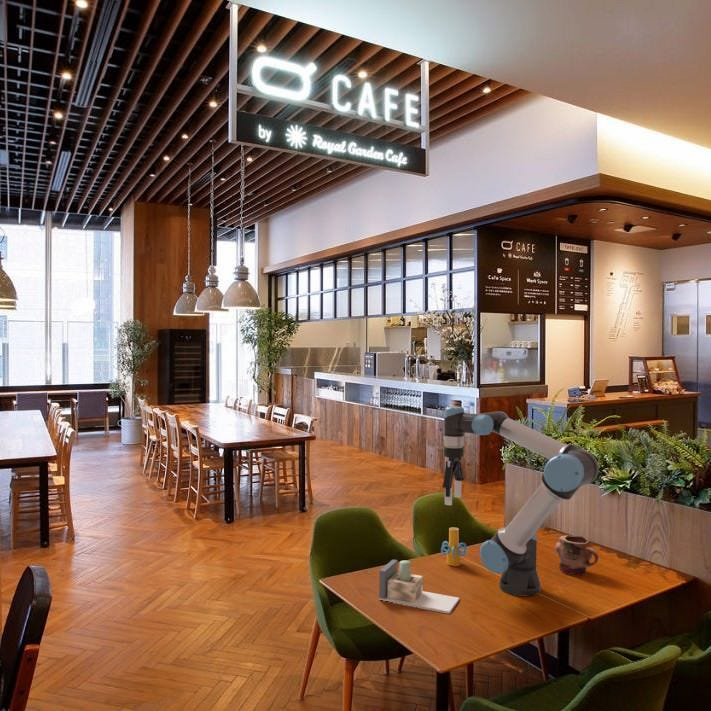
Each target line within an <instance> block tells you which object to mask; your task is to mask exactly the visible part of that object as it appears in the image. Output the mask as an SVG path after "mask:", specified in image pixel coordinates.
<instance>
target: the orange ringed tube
mask: <svg viewBox="0 0 711 711" xmlns="http://www.w3.org/2000/svg"><path fill="white" fill-rule="evenodd" d="M459 530H460V528H458V527H449V528H448V541H447V540H444V541H443V542H442V544H441V548H440V552H441V554H442V555H444V556H446V562H445V563H446V565H447V566H450V567H459V566H461V564H462V563H461V562H462V557H465V556H466V554H467V544H466V542H459V540H460V538H459V533H460V532H459ZM446 547H447V549H446ZM461 548H462V550H461ZM444 551H445V552H444Z"/></svg>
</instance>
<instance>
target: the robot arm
mask: <svg viewBox="0 0 711 711" xmlns="http://www.w3.org/2000/svg"><path fill="white" fill-rule="evenodd" d="M443 419H444V420H443V421H444V424H443V426H444V434H443V435H444V436H443V438H442V440H444V441H443V443H444V444H443V446H444V447H443V456H444V457H446V458H448V460H446V461H445V469H444V476H443V482H442V485H441V486H442V488H443V489H444V505H445V506H453V497H454V498H459V499H460V498H461V499H462V486H463V485H462V481H464V480H465V479H464V473H463V465H462V458H463V457H464V453H465V452H464V450H465V449H464V445H465V442H464V441H465V439H464V438H465V437H464V436H465V433H466V434H473V435H478V436H488V435H490V434H491V433H495V434H497V435H499V436H501V437H503V438H505V439H507V440H509V441H510V442H513V443H515V444H517V445H519V446H522V447H524V448H525V449H527V450H529V451H532V452H533V453H536V454H538V455H539V456H541V457H543V458H545V459H547V460H548V461H547V463H546V464H545V465H544V469H543V474H542V475H541V477H540V481H541V484H540V485H539V486H538V487H537V489H536V490H535V491H534V493H533V494H532V495H531V496H530V497H529V499H528V500H527V501H526V502H525V503H524V505H523V506H522V507H521V508H520V510H519V511H518V512H517V513H516V514H515V516H514V517H513V519H511V521H510V522H509V524H508V525H507V526H505V527H504V526H502V527H500V528H498V530H497V531H496V533H495V534H494V535H493V536H492V537H491V539H488V540H486V541H484V542H483V543H481V546H480V548H479V555H480V561H481V562H482V564H483V566H484V567H485V569H487V570H488V571H490V572H491V573H494V574H501V575H500V577H499V588H500V590H502V591H503V592H504V591H505V593H506V592H507V594H509V593H511V594H510V595H513V594H516V595H515V596H518V595H533V596H535V595H534V594H537V593H539V592H540V591H541V590H542V589H541V588H542V587H541V586H542V584H541V582H540V578H539V575H538V573H537V546H538V545H537V542H538V540H537V533H536V532H537V531H538V530H539V529H540V528H541V527H542V526H543V525H544V523H545V522H546V520H548V518H549V517H550V516H551V515H552V513H553V512H554V511H555V510H556V509H557V507H558V506H560V504H561V503H562V502H563V501H569V500H571V499H572V497H573V496H574V495H575V494H576V493H577V491H579V489H580V488H581V487H583V486H585V485H586V486H587V485H590V484H591V483H592V482H593V481H595V479H596V478H597V477H598V475H599V470H600V469H599V468H600V466H599V462H598V461H597V459H596V457H595V455H594V454H592V453H591V452H589V451H588V450H585V449H583V448H582V447H579V446H577V445H575V444H572V443H568V444H566V443H564V442H561V441H559V440H558V439H556V438H553V437H550V436H548V435H546V434H544V433H542V432H540V431H539V430H535V429H533V428H531V427H529V426H527V425H525V424H522V423H520V422H518V421H516V420H514V419H512V418H510V417H509V416H508V414H506V413H505V411H497V410H495V411H489V412H482V413H467V412H465V408H464V407H461V406H446V407H445V409H444V416H443ZM453 481H454V482H453ZM453 483H454V488H453V487H452V486H453ZM453 489H454V493H453ZM453 495H454V496H453ZM540 593H541V592H540ZM540 593H539V594H540ZM537 595H538V594H537Z"/></svg>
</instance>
